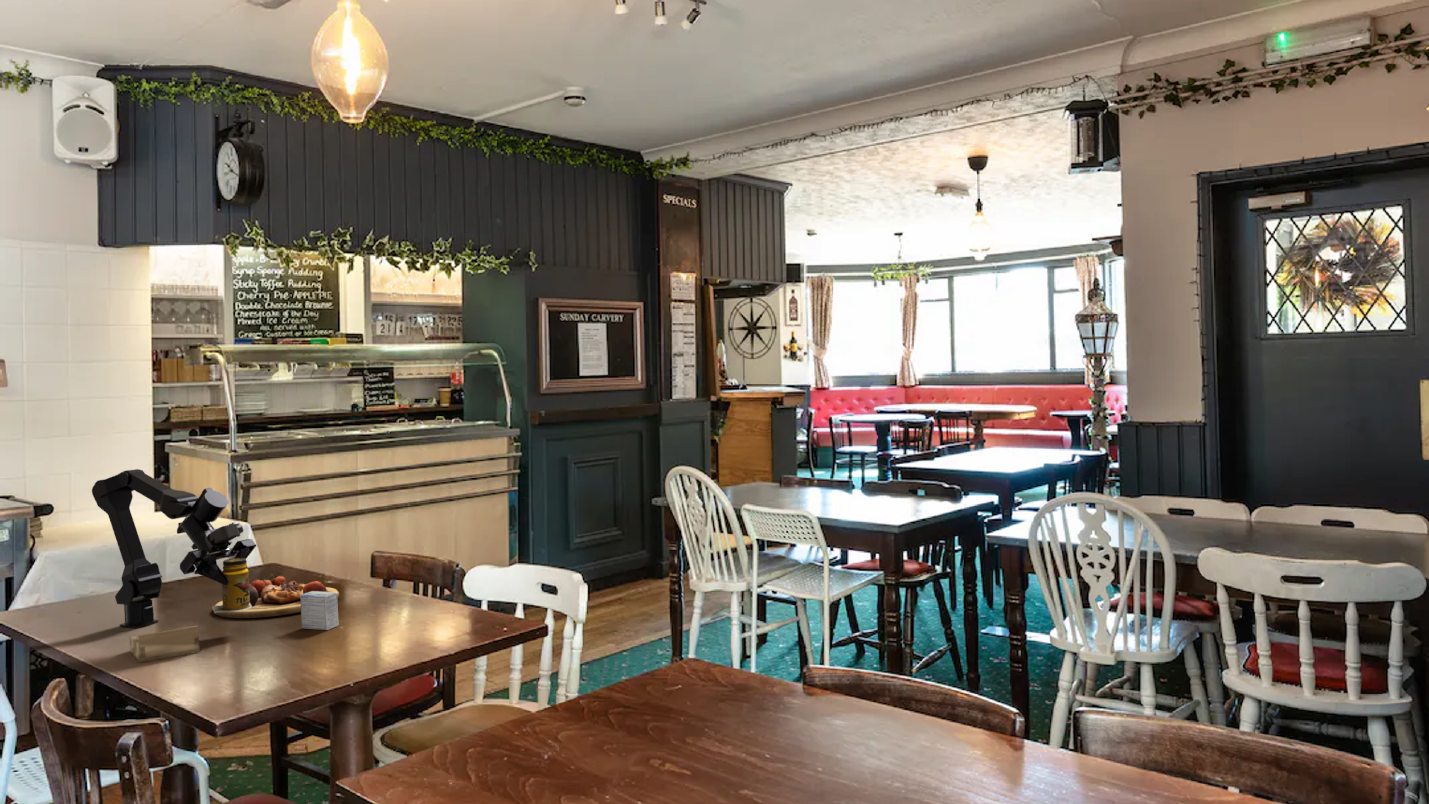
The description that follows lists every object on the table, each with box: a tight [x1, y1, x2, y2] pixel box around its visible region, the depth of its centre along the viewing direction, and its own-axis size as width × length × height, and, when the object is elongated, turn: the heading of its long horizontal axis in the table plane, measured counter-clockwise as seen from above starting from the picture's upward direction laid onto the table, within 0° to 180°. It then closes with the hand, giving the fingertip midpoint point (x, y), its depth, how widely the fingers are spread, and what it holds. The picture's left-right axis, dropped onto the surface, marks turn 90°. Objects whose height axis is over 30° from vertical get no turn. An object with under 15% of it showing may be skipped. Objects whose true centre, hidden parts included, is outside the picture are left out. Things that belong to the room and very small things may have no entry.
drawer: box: [128, 625, 201, 664], centre depth 228 cm, size 13×12×6 cm
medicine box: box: [300, 591, 339, 631], centre depth 246 cm, size 8×4×9 cm, turn 71°
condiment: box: [211, 558, 253, 614], centre depth 241 cm, size 7×8×12 cm
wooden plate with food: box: [214, 574, 340, 619], centre depth 272 cm, size 32×32×8 cm
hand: (237, 581), depth 241 cm, fingers closed on condiment, 6 cm apart
